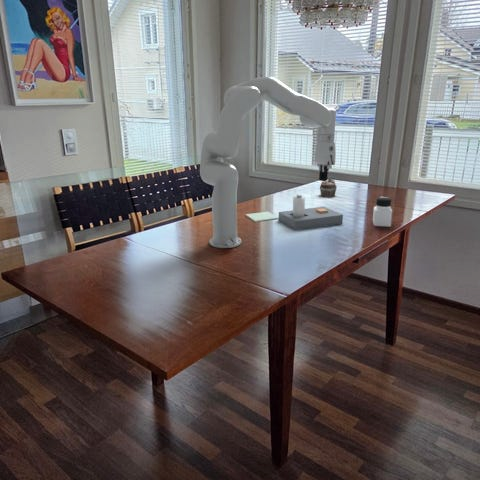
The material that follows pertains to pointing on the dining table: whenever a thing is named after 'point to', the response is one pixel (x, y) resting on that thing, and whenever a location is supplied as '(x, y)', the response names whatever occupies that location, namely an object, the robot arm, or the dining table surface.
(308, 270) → the dining table surface
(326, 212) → the tan cube
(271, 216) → the mat
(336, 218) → the housing
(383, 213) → the medicine bottle
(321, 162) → the robot arm
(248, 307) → the dining table surface
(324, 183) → the cupcake
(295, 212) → the cylinder
